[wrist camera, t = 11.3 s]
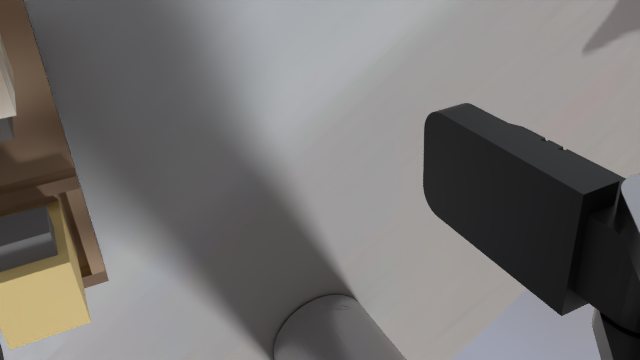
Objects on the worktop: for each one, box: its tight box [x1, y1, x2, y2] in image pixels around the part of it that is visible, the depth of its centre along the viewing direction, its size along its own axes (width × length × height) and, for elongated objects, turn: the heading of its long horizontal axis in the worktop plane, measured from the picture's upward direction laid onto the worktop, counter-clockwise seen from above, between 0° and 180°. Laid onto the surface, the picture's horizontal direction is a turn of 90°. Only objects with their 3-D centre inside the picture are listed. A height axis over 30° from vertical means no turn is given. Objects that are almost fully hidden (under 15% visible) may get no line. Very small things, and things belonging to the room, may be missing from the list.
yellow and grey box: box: [0, 200, 91, 350], centre depth 32 cm, size 5×4×7 cm
